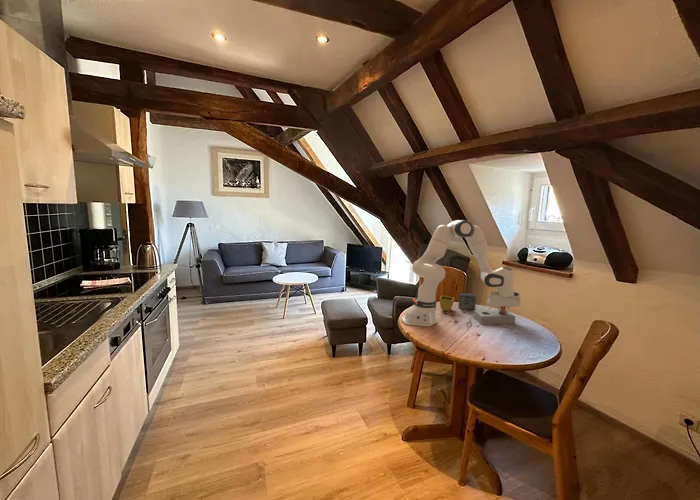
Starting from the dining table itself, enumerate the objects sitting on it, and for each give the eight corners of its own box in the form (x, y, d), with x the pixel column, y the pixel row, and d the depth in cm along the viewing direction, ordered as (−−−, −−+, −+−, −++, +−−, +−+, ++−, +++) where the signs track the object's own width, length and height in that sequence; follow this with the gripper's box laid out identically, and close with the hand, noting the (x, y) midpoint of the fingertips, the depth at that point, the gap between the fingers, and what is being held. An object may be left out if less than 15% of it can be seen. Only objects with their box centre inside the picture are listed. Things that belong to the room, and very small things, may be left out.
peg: (500, 318, 204) (502, 303, 202) (498, 316, 207) (500, 302, 205) (505, 318, 204) (507, 303, 202) (503, 316, 207) (504, 302, 205)
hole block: (480, 323, 200) (481, 316, 199) (473, 317, 211) (474, 310, 210) (514, 324, 200) (515, 316, 199) (506, 317, 211) (506, 310, 210)
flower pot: (453, 309, 226) (454, 297, 224) (451, 313, 218) (452, 300, 217) (441, 307, 230) (441, 295, 228) (439, 311, 222) (439, 298, 220)
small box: (472, 307, 231) (473, 293, 229) (475, 310, 224) (476, 296, 223) (458, 306, 232) (458, 292, 230) (460, 309, 225) (461, 295, 224)
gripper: (490, 293, 199) (488, 314, 201) (522, 293, 199) (520, 314, 202) (486, 290, 205) (484, 310, 208) (517, 290, 206) (515, 310, 208)
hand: (502, 312), depth 205 cm, fingers closed on peg, 3 cm apart
